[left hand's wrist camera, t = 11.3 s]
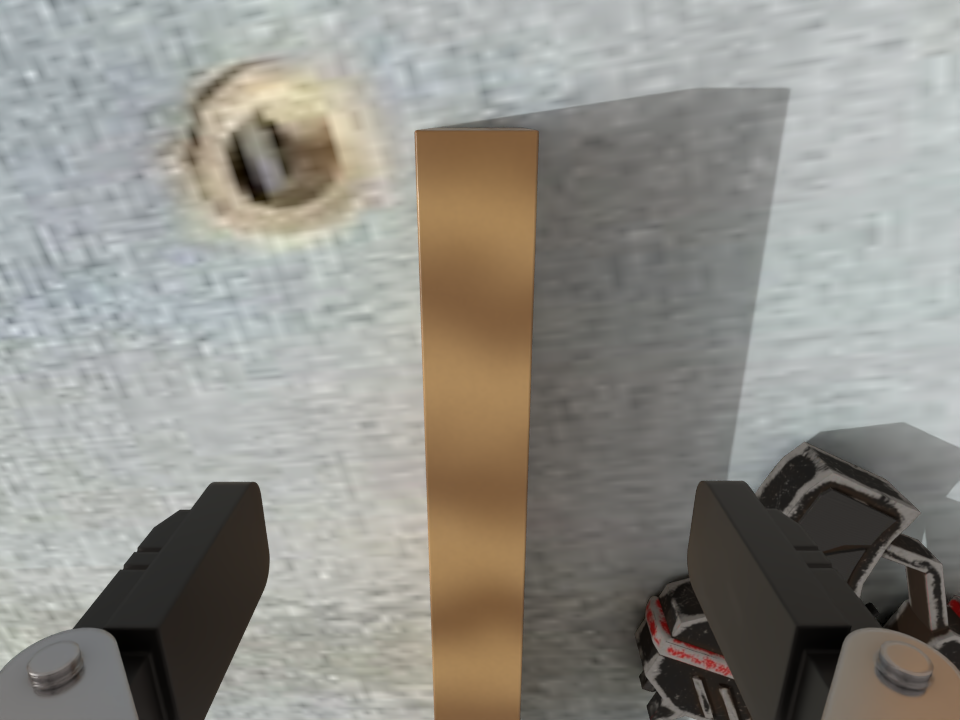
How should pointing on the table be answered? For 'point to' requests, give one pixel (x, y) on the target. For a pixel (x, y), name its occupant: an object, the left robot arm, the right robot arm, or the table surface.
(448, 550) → the post
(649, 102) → the table surface
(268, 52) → the table surface
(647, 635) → the gun
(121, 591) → the left robot arm
